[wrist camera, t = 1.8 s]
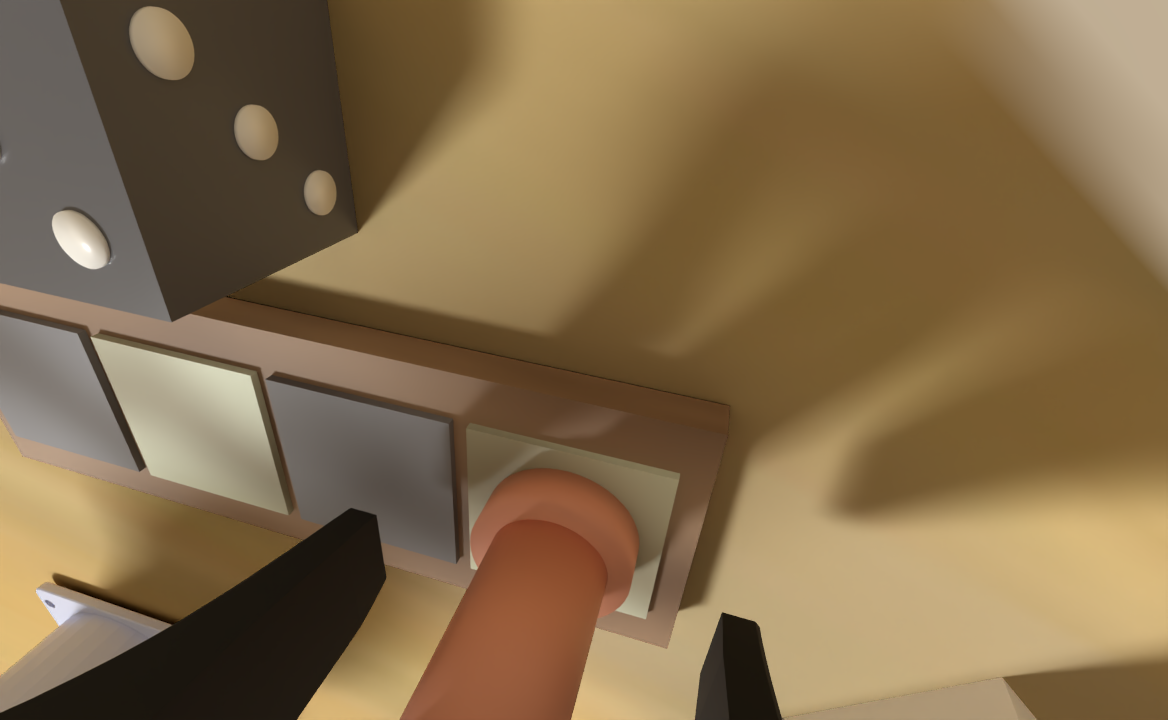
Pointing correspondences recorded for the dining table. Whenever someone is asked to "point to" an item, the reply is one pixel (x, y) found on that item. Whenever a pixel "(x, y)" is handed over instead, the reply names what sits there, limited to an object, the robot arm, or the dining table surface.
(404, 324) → the dining table surface
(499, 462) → the track board
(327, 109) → the die
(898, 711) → the checkerboard
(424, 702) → the pawn
